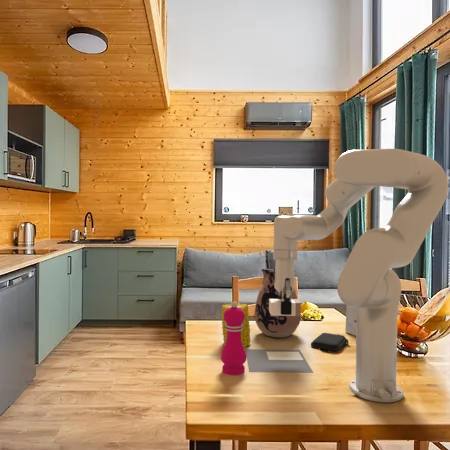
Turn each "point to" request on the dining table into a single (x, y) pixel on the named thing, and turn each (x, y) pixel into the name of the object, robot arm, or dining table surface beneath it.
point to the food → (246, 330)
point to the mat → (277, 361)
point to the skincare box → (351, 320)
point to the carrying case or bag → (329, 342)
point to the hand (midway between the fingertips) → (284, 311)
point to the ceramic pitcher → (263, 318)
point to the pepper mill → (233, 342)
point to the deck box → (276, 307)
